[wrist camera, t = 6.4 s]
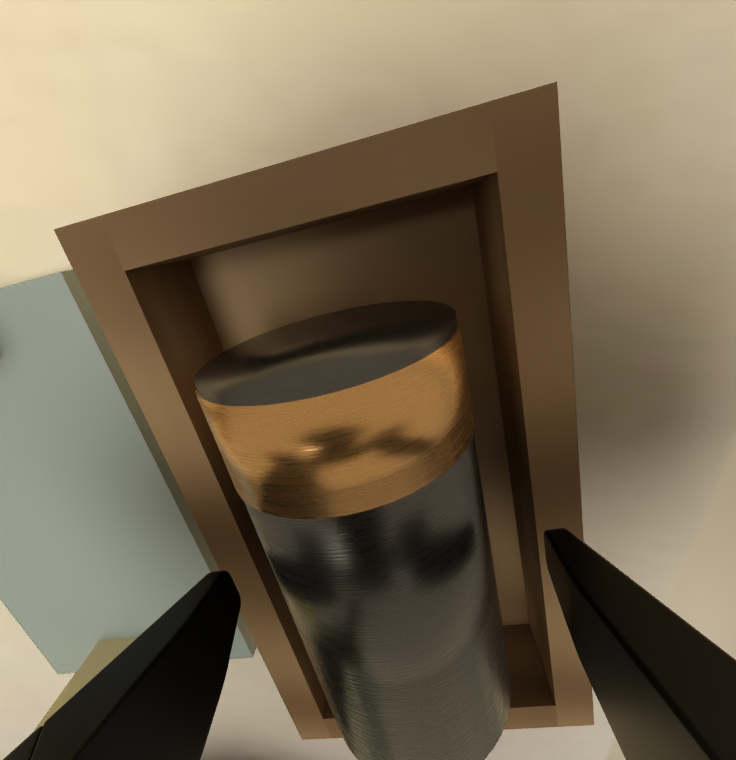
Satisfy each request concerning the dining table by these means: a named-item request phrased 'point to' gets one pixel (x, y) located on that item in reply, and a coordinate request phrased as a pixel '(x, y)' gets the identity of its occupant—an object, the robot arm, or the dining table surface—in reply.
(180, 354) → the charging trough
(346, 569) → the battery cell
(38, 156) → the dining table surface
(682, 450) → the dining table surface
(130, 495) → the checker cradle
